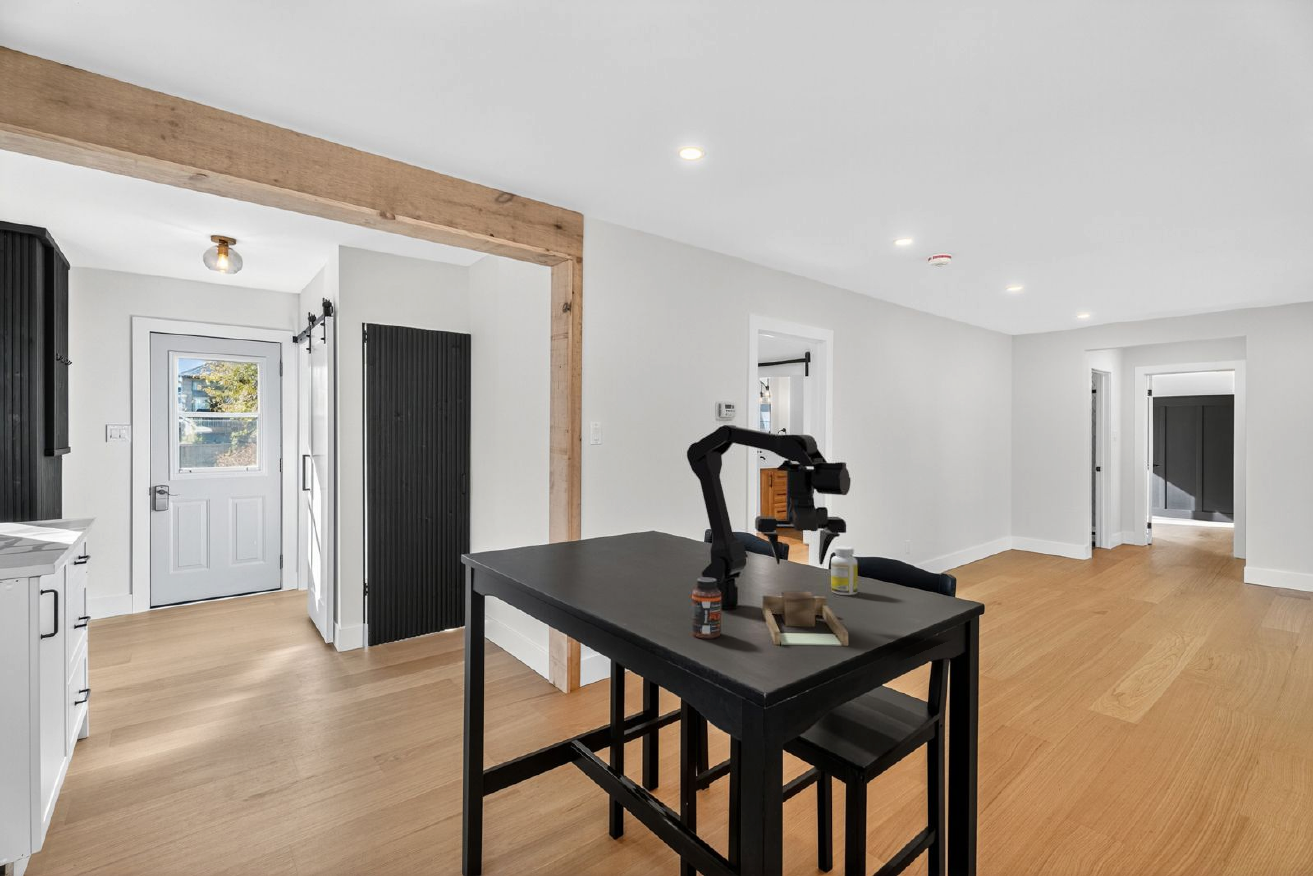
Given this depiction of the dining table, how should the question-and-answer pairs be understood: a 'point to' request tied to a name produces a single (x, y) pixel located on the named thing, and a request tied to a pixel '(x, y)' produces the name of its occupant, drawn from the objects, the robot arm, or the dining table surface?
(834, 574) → the pill bottle
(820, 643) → the front pad
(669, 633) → the dining table surface
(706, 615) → the supplement bottle
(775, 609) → the bay
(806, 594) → the crate
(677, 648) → the dining table surface
